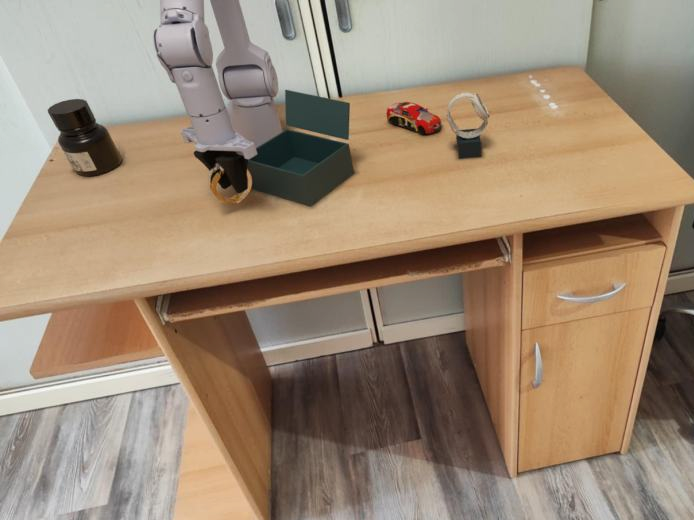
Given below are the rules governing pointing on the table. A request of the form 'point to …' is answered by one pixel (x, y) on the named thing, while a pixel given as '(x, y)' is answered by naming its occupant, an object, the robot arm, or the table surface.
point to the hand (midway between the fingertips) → (235, 188)
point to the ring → (215, 178)
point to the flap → (317, 114)
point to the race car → (413, 117)
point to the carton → (300, 166)
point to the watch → (469, 137)
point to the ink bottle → (84, 138)
